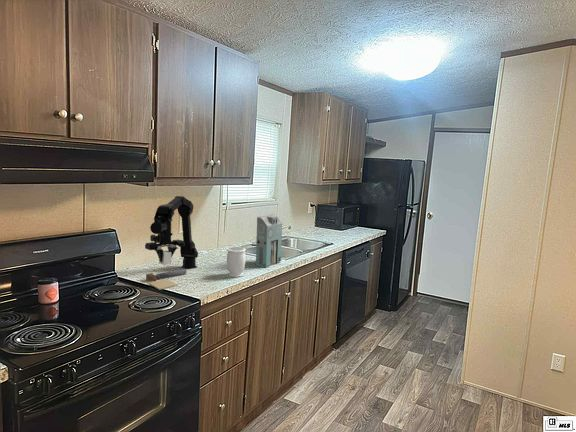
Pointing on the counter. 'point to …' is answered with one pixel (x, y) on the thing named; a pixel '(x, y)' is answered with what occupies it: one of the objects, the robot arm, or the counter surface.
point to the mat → (162, 284)
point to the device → (268, 240)
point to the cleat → (150, 277)
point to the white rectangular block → (166, 258)
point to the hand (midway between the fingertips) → (165, 261)
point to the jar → (236, 261)
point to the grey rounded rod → (171, 274)
